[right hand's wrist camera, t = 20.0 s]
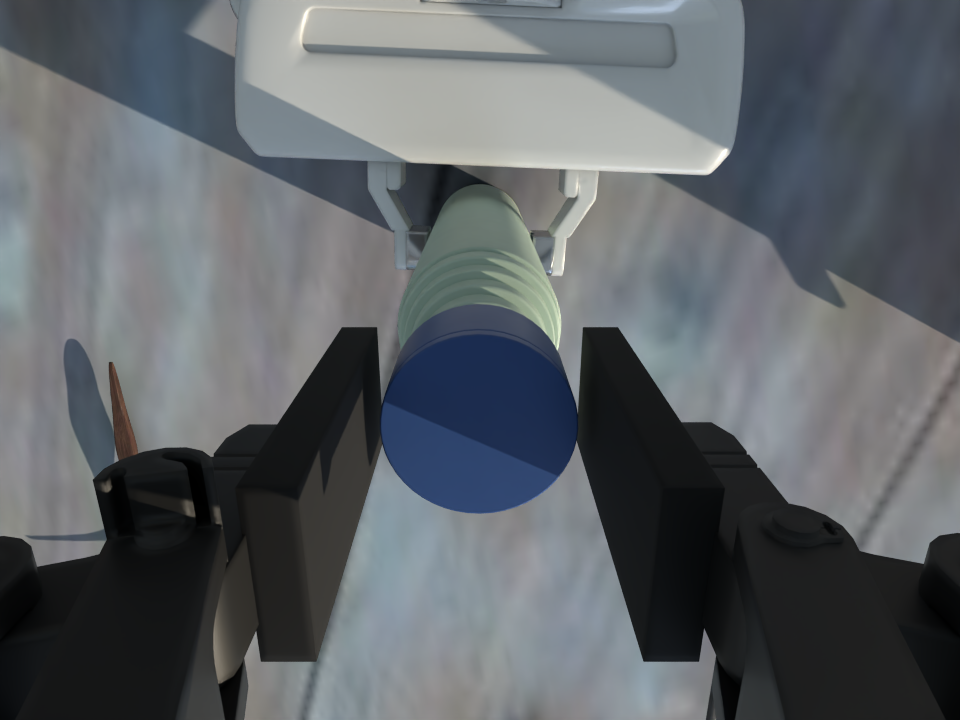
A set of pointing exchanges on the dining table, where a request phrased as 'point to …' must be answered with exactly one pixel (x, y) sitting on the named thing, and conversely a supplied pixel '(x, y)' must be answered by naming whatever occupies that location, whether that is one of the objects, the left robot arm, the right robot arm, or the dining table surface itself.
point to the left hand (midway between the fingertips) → (479, 270)
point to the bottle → (479, 264)
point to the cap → (479, 410)
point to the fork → (121, 419)
